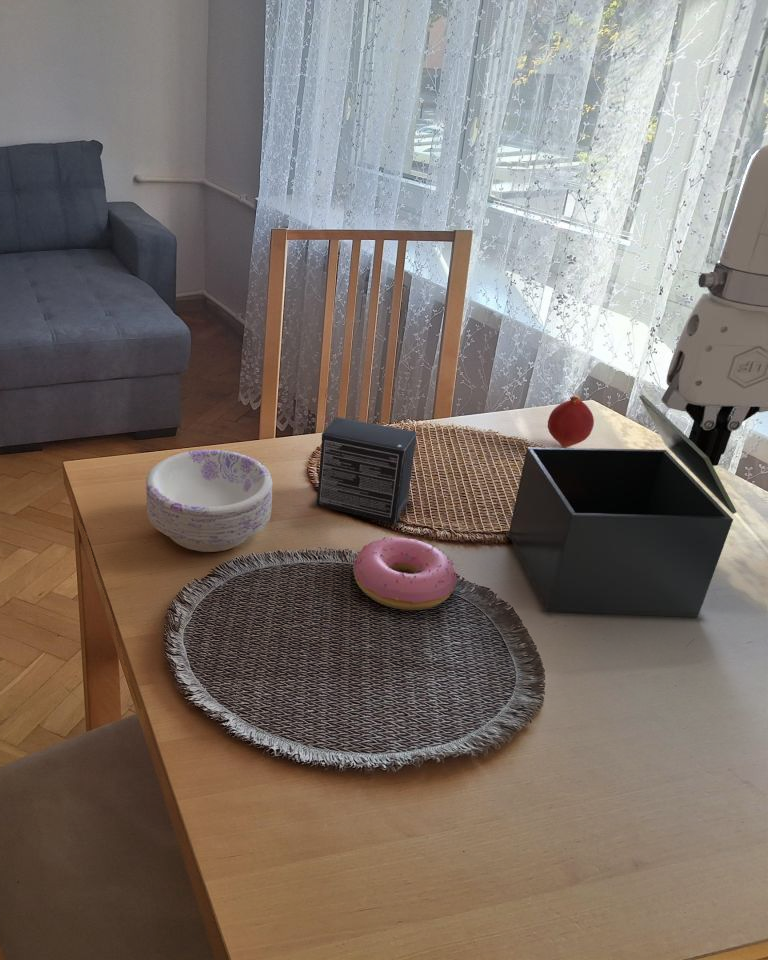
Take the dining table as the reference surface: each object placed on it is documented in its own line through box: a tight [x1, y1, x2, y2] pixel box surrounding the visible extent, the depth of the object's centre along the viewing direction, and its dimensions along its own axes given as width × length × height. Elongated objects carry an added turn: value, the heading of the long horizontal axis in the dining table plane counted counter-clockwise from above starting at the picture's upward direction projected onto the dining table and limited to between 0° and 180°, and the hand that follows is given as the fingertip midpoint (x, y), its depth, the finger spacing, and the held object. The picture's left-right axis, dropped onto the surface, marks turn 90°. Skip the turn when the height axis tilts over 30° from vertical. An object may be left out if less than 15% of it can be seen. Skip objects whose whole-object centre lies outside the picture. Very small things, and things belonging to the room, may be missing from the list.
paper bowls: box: [145, 449, 273, 553], centre depth 105 cm, size 15×15×8 cm
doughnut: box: [352, 536, 458, 611], centre depth 95 cm, size 11×11×4 cm
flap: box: [638, 394, 737, 515], centre depth 89 cm, size 7×15×1 cm
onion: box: [547, 395, 595, 448], centre depth 122 cm, size 6×6×8 cm
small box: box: [315, 416, 418, 525], centre depth 109 cm, size 11×6×10 cm, turn 59°
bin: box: [507, 446, 734, 618], centre depth 94 cm, size 15×15×12 cm
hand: (701, 459), depth 89 cm, fingers closed
